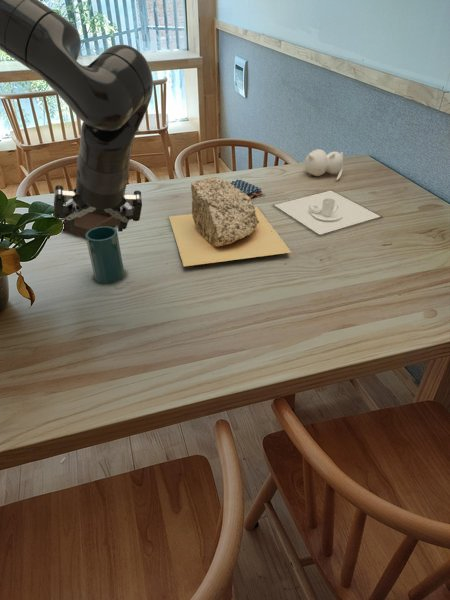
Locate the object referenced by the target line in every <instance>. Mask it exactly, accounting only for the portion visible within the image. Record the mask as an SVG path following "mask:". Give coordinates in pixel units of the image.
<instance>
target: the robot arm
mask: <svg viewBox="0 0 450 600" xmlns="http://www.w3.org/2000/svg"><path fill="white" fill-rule="evenodd" d="M81 49H82V38H81V35H80V33H79V31H78V29H77V28H76V27H75V25H73V24H72V23H71V22H70V21H69V20H68V19H66V17H64V16H62V15H61V14H59V13H58V12H56V11H55V10H54V9H52V8H50V7H49V6H47V5H46V4H45V3H43V2H42V1H41V0H0V51H2V52H3V53H5V54H6V55H7V56H9V57H11V59H14V60H16V61H17V62H18V63H20V64H21V65H23V66H24V67H26V68H27V69H29V70H30V71H32V72H33V73H35V74H37V75H38V76H39V77H40V78H41V79H42V80H43V81H44V82H45V83H46V84H47V85H48V86H49V87H50V88H51V89H52V91H54V92H55V93H56V94H57V95H58V96H59V98H60V99H61V100H62V101H63V102H64V103H65V104H66V106H68V107H69V109H70V110H71V111H72V112H73V113H74V114H75V115H76V116H77V117H78V118H79V119H80V121H82V124H81V127H80V134H79V135H80V137H79V138H80V139H79V151H78V154H77V159H76V178H75V179H76V180H75V181H76V183H75V185H76V186H75V188H73V190H64V186H62V185H58V184H57V185H56V186H55V187H54V188H55V189H54V196H53V197H54V198H53V208H54V209H53V217H56V218H61V217H62V216H63V217H65V223H66V227H70V230H74V218H76V217H82V216H84V215H85V214H87V213H102V214H108V213H110V214H111V215H112V216H113V217H114V218H116V219H118V225H117V232H121V233H122V232H123V230H126V229H127V227H128V224H129V222H130V221H131V220H132V221H133V222H139V221H140V219H141V213H142V207H143V199H142V191H140V190H134V191H133V194H126V188H127V184H128V180H129V178H130V169H131V157H132V151H133V147H134V140H135V136H136V135H137V132H138V130H139V128H140V126H141V124H142V122H143V120H144V118H145V115H146V112H147V110H148V107H149V105H150V102H151V99H152V95H153V91H154V77H153V73H152V69H151V67H150V64H149V63H148V60H147V59H146V57H145V56H144V54H143V53H141V52H140V50H138V49H137V48H135V47H133V46H131V45H128V44H121V43H120V44H115V45H112V46H110V47H108V48H105V50H104V51H103V52H102V53H101V54H99V55H98V56H97V57H96V58H95V59H94V60H93V61H92V62H90V64H88V65H87V66H84V65H82V64H81V63H79V61H78V59H79V57H80V53H81ZM69 200H71V201H70V202H69ZM126 203H128V205H129V206H130V207H131V208H128V207H127V206H126Z"/></svg>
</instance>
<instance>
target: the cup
mask: <svg viewBox="0 0 450 600" xmlns="http://www.w3.org/2000/svg"><path fill="white" fill-rule="evenodd" d="M85 236H86V238H85V241H86V246H87V250H88V255H89V259H90V264H91V268H92V273H93V277H94V279H95V281H96V282H98V283H101V284H112V283H115V282H118V281H120V280H122V279H123V278H124V277H125V270H124V269H125V268H124V263H123V258H122V252H121V245H120V241H119V235H118V229H116V228H115V227H109V226H102V227H96V228H93V229H91V230H89V231H88V232H87V233H86V234H85Z"/></svg>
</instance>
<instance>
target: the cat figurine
mask: <svg viewBox="0 0 450 600" xmlns="http://www.w3.org/2000/svg"><path fill="white" fill-rule="evenodd" d="M343 166H344V152H343V151H341V152H339V151H336V150H333V151H330V152H329V153H327V152H325V151H324V150H323V149H319V148H318V149H317V148H316V149H314V150H312V151H311V152H309V153H308V154H307V156H306V157H305V161H304V167H303V169H302V172H304V173H305V172H306V173H309V174H310V175H312V176H314V177H319V176H322V175H324V174H325V173H329V174H331V175H335V174H337V173H338V175H337V176H336V179H335V181H338V180H340V178H341V176H342V174H343V169H344V167H343Z"/></svg>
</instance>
